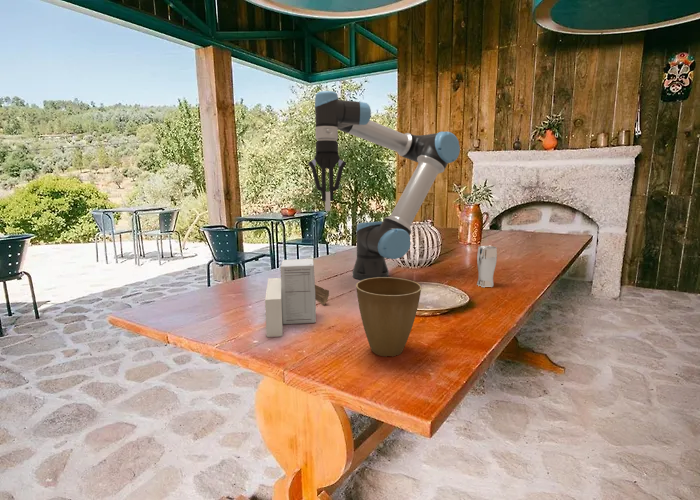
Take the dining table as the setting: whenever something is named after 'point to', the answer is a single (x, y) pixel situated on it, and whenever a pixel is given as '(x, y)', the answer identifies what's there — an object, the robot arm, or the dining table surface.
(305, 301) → the supplement box
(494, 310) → the dining table surface
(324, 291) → the brown bark piece
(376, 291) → the plant pot
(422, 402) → the dining table surface
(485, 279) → the beer glass
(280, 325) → the white rectangular block
